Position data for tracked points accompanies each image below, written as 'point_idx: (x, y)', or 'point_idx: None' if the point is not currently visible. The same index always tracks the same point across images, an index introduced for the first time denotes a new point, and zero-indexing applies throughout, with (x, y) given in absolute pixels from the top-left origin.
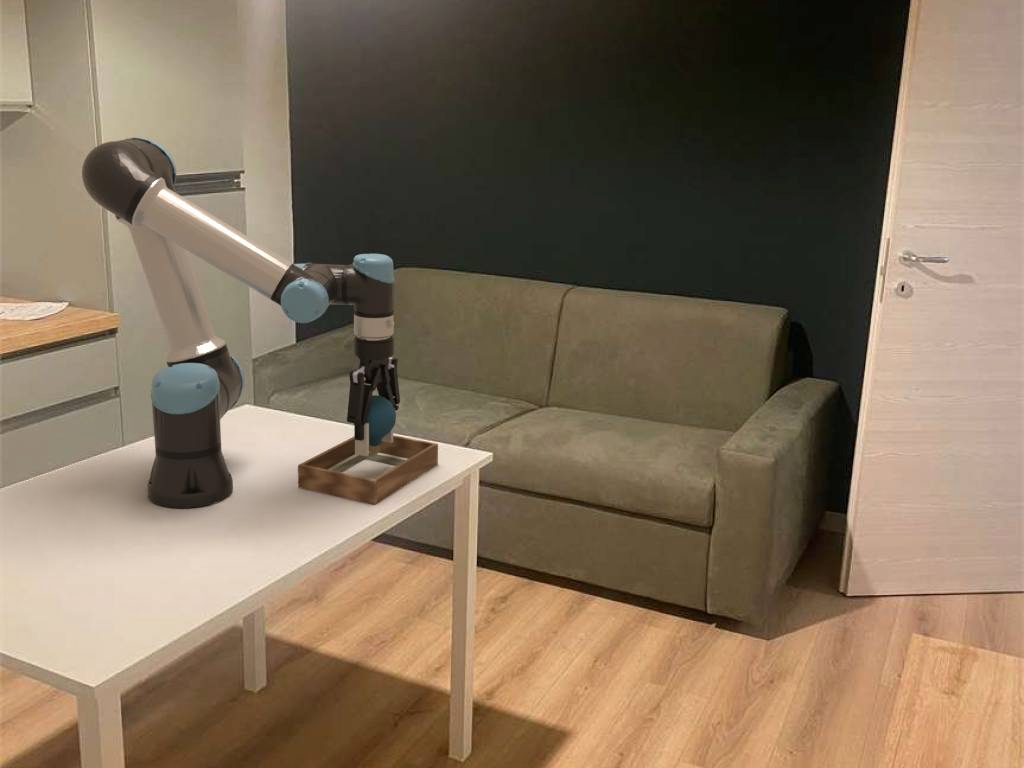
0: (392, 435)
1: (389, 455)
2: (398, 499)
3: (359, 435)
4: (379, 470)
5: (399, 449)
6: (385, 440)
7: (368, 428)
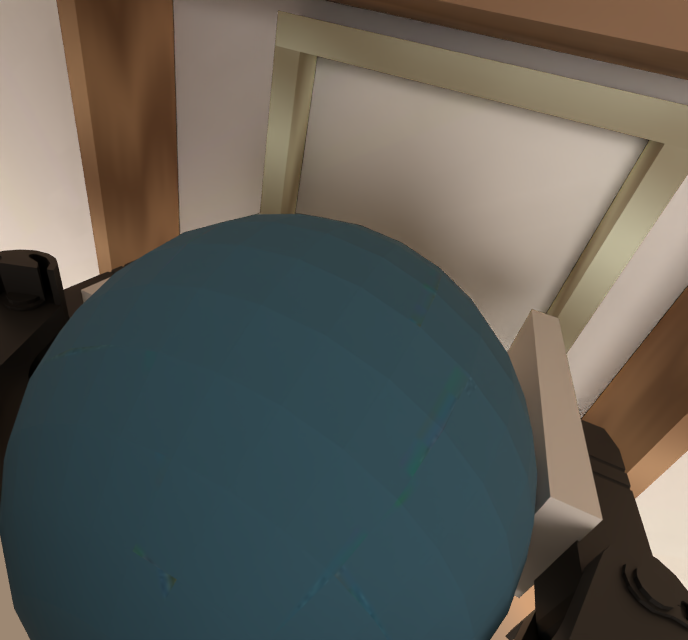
0: None
1: (587, 305)
2: None
3: None
4: (459, 262)
5: (671, 355)
6: (511, 350)
7: None
